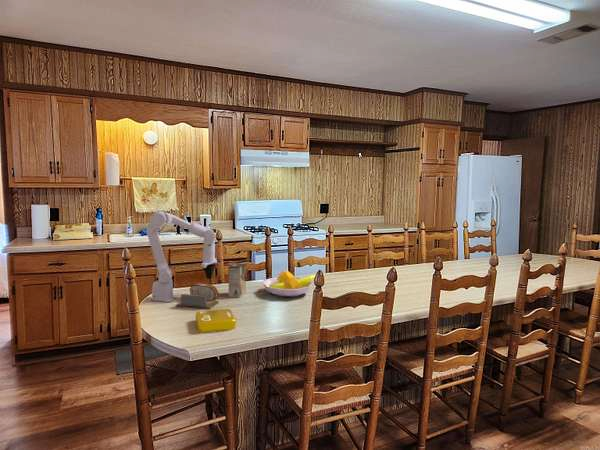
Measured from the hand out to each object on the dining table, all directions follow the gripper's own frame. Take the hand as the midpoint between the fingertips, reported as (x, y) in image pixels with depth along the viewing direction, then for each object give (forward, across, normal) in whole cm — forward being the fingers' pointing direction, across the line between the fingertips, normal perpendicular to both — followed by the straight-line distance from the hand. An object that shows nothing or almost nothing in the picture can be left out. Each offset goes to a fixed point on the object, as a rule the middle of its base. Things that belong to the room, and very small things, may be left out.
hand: (209, 278), depth 204 cm
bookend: (+9, -18, 0) cm, 21 cm away
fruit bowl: (+10, +16, -39) cm, 43 cm away
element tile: (+10, -36, -18) cm, 41 cm away
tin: (+10, -7, 0) cm, 12 cm away
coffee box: (+10, +6, -13) cm, 17 cm away
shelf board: (+9, -14, 0) cm, 17 cm away
